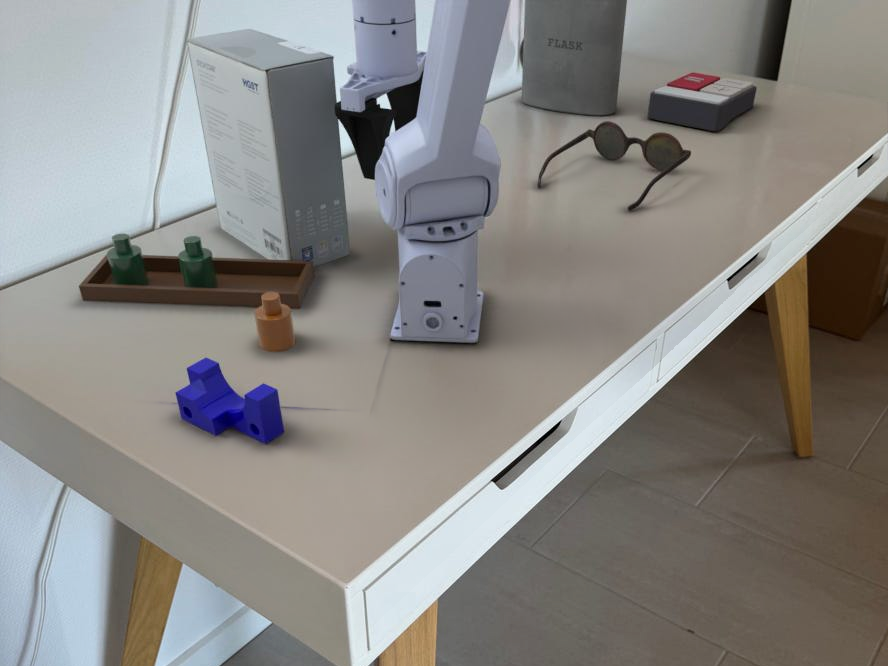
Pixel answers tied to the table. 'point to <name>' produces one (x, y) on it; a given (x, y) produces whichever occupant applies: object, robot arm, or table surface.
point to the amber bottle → (274, 324)
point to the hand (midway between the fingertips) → (392, 165)
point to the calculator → (701, 101)
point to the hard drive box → (272, 144)
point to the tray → (235, 288)
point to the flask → (573, 55)
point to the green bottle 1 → (127, 262)
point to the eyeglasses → (614, 144)
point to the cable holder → (228, 404)
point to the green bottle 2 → (197, 264)
